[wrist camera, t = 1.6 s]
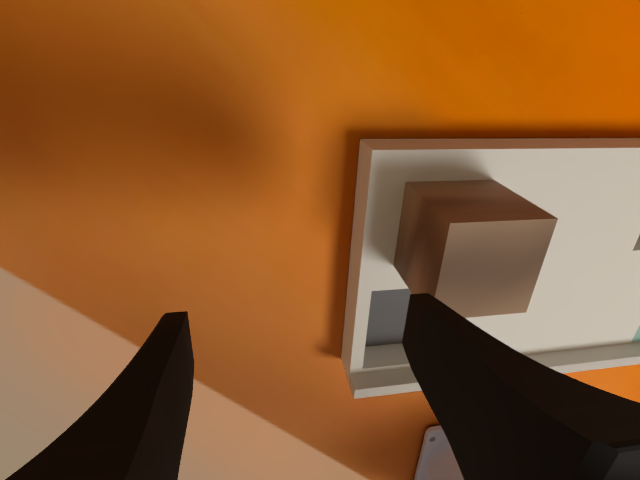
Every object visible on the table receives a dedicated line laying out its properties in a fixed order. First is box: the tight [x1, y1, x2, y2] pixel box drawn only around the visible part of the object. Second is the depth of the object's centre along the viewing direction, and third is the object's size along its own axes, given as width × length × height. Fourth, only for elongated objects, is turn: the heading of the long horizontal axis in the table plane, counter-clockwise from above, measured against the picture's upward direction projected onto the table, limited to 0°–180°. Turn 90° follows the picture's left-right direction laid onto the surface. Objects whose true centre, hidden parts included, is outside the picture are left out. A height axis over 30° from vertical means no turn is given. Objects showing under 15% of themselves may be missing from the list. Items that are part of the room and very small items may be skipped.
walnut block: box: [393, 180, 558, 318], centre depth 18 cm, size 4×4×4 cm
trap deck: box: [341, 138, 640, 399], centre depth 24 cm, size 14×26×3 cm, turn 87°
